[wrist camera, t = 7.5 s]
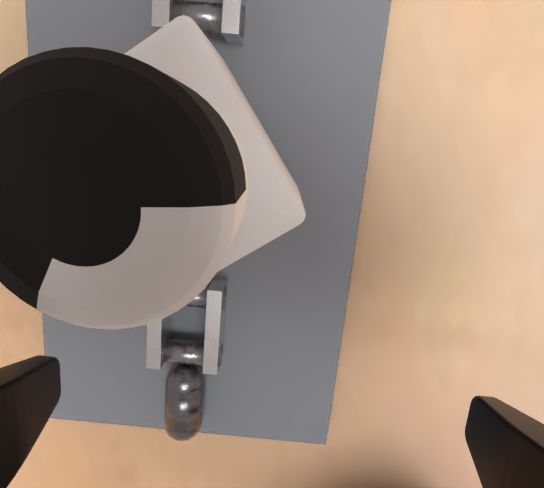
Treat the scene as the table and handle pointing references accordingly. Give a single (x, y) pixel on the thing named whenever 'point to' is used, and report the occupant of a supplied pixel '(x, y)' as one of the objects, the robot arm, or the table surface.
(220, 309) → the chain ends
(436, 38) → the table surface
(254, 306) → the rubber mat
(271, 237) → the medicine bottle
